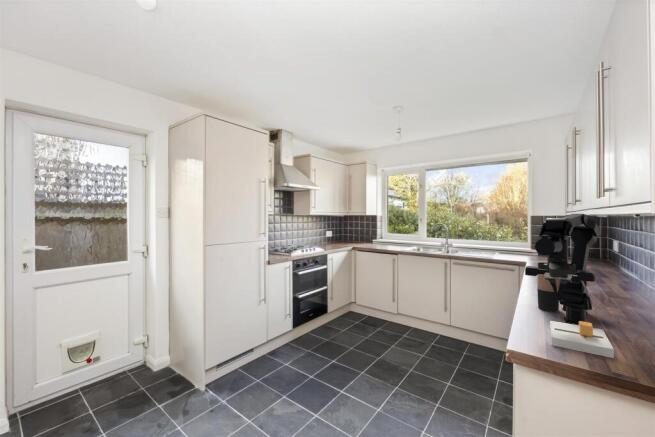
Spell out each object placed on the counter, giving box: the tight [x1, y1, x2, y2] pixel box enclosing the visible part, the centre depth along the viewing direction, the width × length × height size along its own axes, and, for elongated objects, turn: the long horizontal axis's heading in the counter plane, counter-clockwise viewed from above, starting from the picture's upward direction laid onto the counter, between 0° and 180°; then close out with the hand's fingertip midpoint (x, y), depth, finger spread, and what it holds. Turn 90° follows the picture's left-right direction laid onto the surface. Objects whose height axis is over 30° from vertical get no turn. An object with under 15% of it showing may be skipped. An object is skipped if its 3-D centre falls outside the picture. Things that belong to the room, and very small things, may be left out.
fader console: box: [549, 320, 615, 359], centre depth 93 cm, size 18×14×3 cm
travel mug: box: [536, 261, 560, 313], centre depth 125 cm, size 8×8×20 cm
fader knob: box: [579, 321, 594, 337], centre depth 92 cm, size 4×3×3 cm
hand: (557, 297), depth 101 cm, fingers closed
